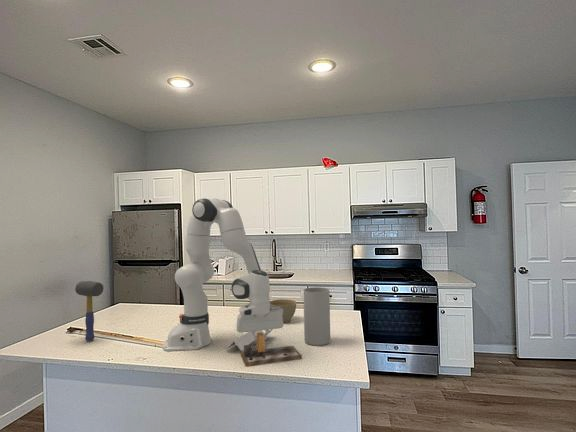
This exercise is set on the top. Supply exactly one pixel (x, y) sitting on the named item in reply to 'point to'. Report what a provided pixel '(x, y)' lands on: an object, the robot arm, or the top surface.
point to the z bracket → (245, 340)
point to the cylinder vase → (316, 316)
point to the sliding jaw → (260, 344)
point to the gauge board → (269, 355)
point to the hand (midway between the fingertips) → (260, 340)
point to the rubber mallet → (89, 303)
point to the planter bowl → (285, 308)
